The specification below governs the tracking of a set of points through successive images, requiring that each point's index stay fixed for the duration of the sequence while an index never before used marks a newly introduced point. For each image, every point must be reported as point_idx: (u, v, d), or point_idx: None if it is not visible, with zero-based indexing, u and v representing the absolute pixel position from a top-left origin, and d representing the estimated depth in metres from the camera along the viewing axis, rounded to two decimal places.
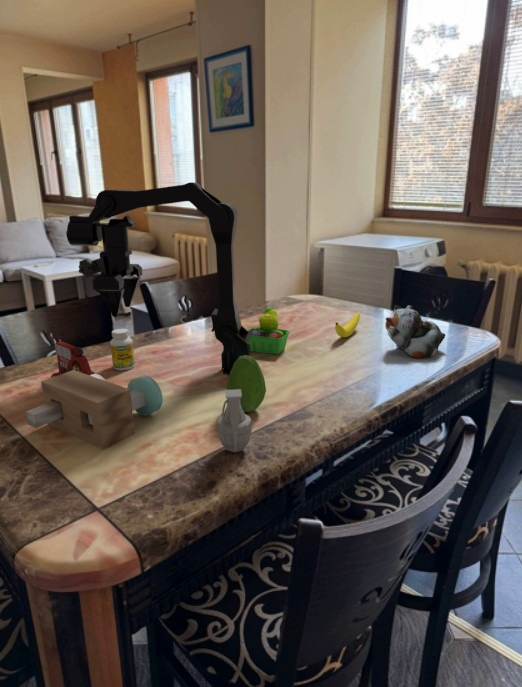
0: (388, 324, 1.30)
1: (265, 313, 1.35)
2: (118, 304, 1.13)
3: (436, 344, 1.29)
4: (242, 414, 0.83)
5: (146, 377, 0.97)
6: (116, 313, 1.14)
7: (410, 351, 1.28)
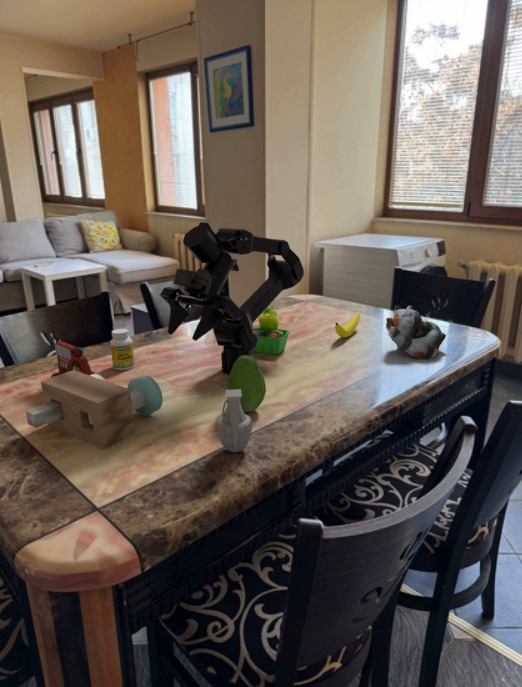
0: (389, 324, 1.29)
1: (265, 313, 1.35)
2: (208, 330, 1.04)
3: (437, 344, 1.28)
4: (242, 414, 0.83)
5: (146, 377, 0.97)
6: (198, 337, 1.03)
7: (411, 351, 1.28)
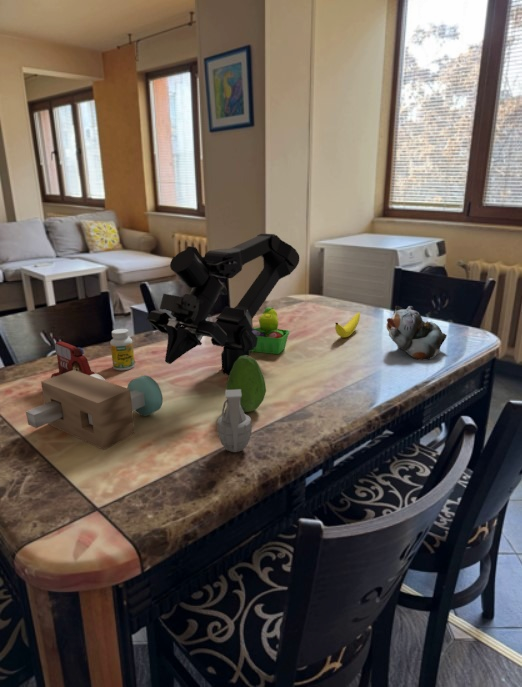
0: (389, 325, 1.29)
1: (265, 313, 1.35)
2: (183, 353, 1.03)
3: (438, 345, 1.28)
4: (242, 414, 0.83)
5: (146, 377, 0.97)
6: (173, 360, 1.02)
7: (412, 352, 1.28)
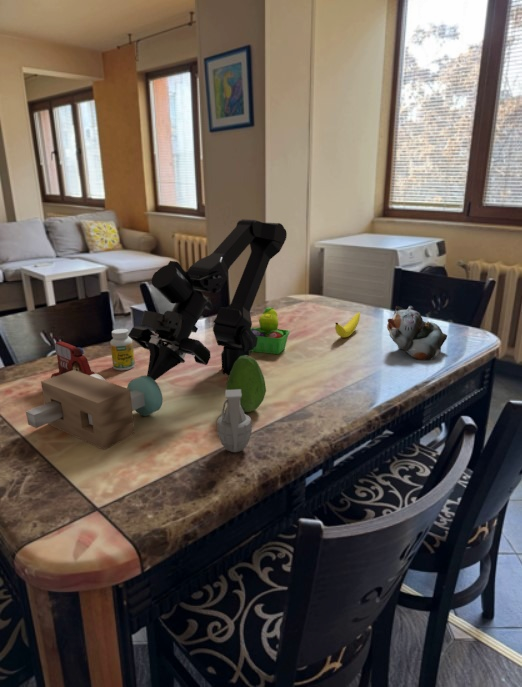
0: (390, 325, 1.29)
1: (265, 313, 1.35)
2: (165, 371, 1.00)
3: (438, 345, 1.28)
4: (242, 414, 0.83)
5: (146, 377, 0.97)
6: (155, 379, 0.99)
7: (413, 352, 1.27)
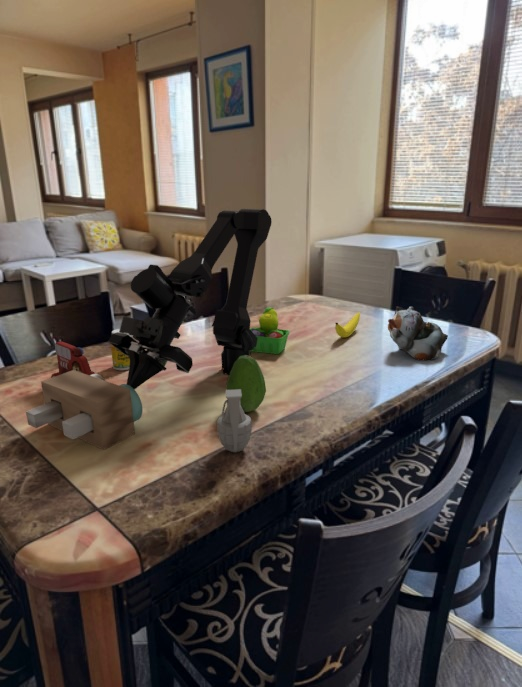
0: (391, 326, 1.28)
1: (265, 313, 1.35)
2: (146, 380, 0.96)
3: (439, 345, 1.28)
4: (242, 414, 0.83)
5: (125, 386, 0.93)
6: (135, 388, 0.95)
7: (413, 353, 1.27)
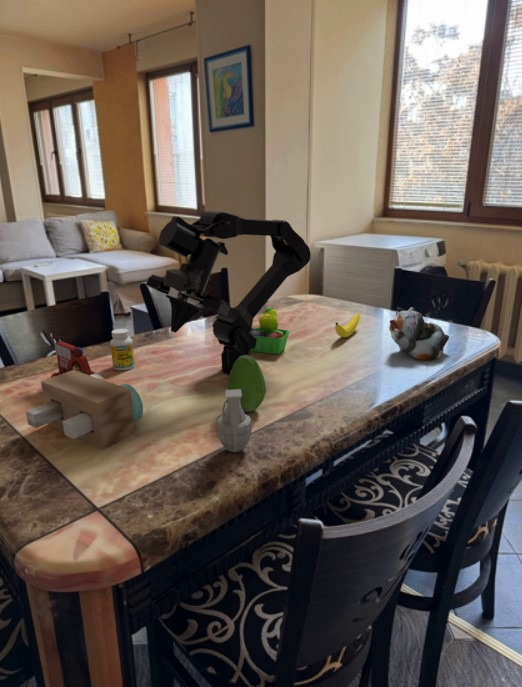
0: (392, 327, 1.28)
1: (265, 313, 1.35)
2: (186, 321, 1.09)
3: (441, 346, 1.27)
4: (242, 414, 0.83)
5: (126, 386, 0.93)
6: (178, 329, 1.08)
7: (415, 354, 1.26)
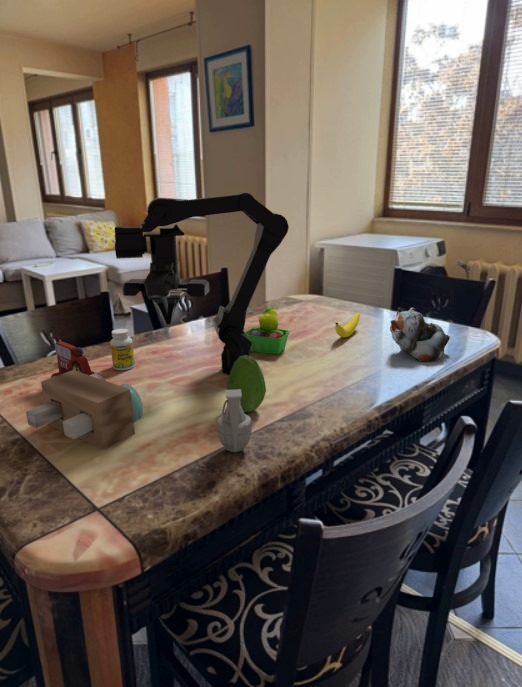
0: (393, 327, 1.27)
1: (265, 313, 1.35)
2: None
3: (442, 346, 1.27)
4: (242, 414, 0.83)
5: (126, 386, 0.93)
6: None
7: (416, 354, 1.26)
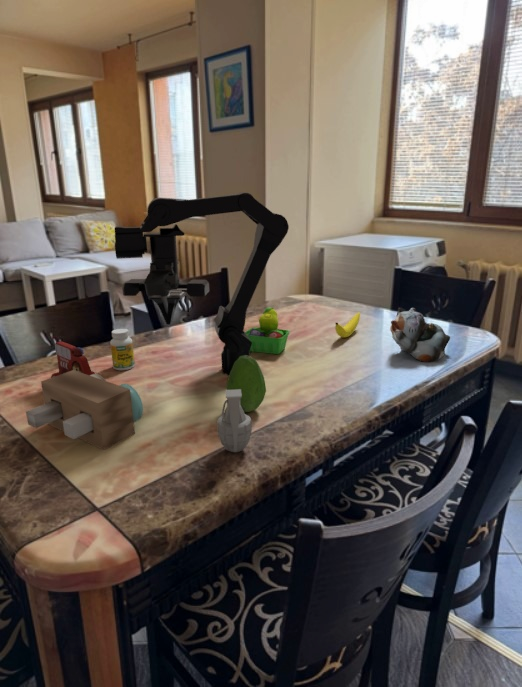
0: (394, 327, 1.27)
1: (265, 313, 1.35)
2: None
3: (442, 347, 1.27)
4: (242, 414, 0.83)
5: (126, 386, 0.93)
6: None
7: (417, 354, 1.26)
